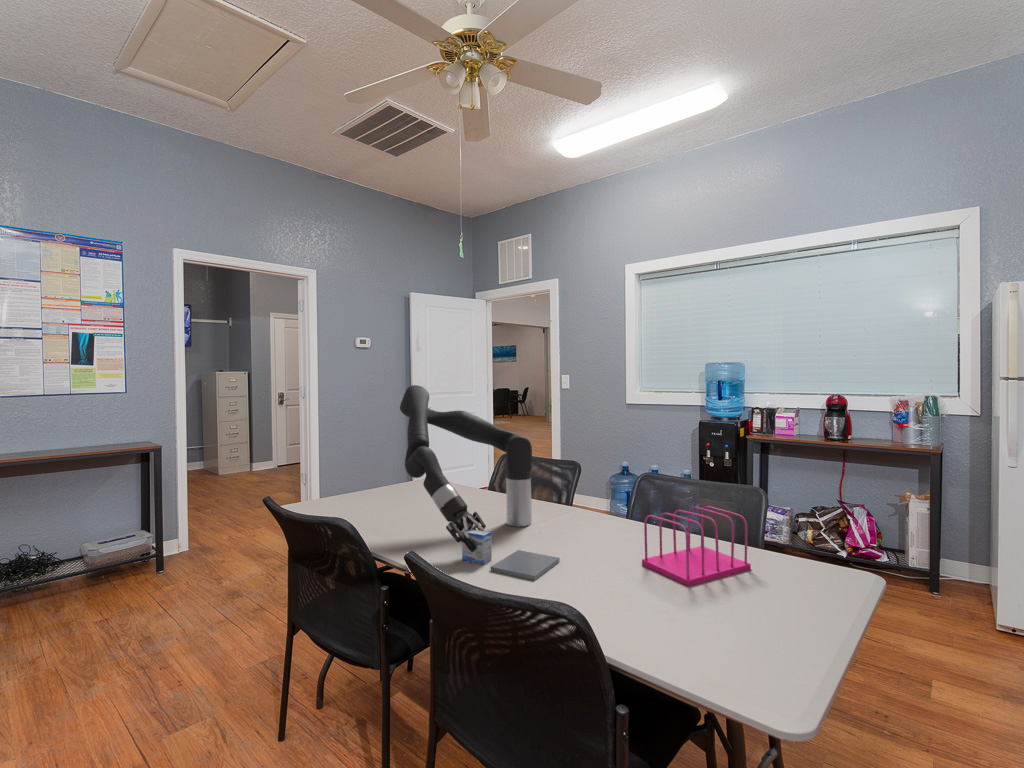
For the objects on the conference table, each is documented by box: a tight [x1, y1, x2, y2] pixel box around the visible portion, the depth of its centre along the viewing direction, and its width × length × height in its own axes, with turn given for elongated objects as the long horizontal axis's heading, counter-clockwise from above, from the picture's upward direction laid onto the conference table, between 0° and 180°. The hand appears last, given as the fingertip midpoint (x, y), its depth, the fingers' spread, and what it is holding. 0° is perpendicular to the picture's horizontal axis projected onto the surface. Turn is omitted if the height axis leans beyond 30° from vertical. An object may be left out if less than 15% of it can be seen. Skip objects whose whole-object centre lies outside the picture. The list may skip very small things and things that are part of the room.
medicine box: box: [461, 529, 493, 565], centre depth 150 cm, size 8×4×9 cm, turn 62°
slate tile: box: [490, 549, 560, 582], centre depth 145 cm, size 16×14×1 cm
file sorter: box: [641, 505, 752, 587], centre depth 144 cm, size 17×25×16 cm
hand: (481, 546), depth 149 cm, fingers open, 6 cm apart
